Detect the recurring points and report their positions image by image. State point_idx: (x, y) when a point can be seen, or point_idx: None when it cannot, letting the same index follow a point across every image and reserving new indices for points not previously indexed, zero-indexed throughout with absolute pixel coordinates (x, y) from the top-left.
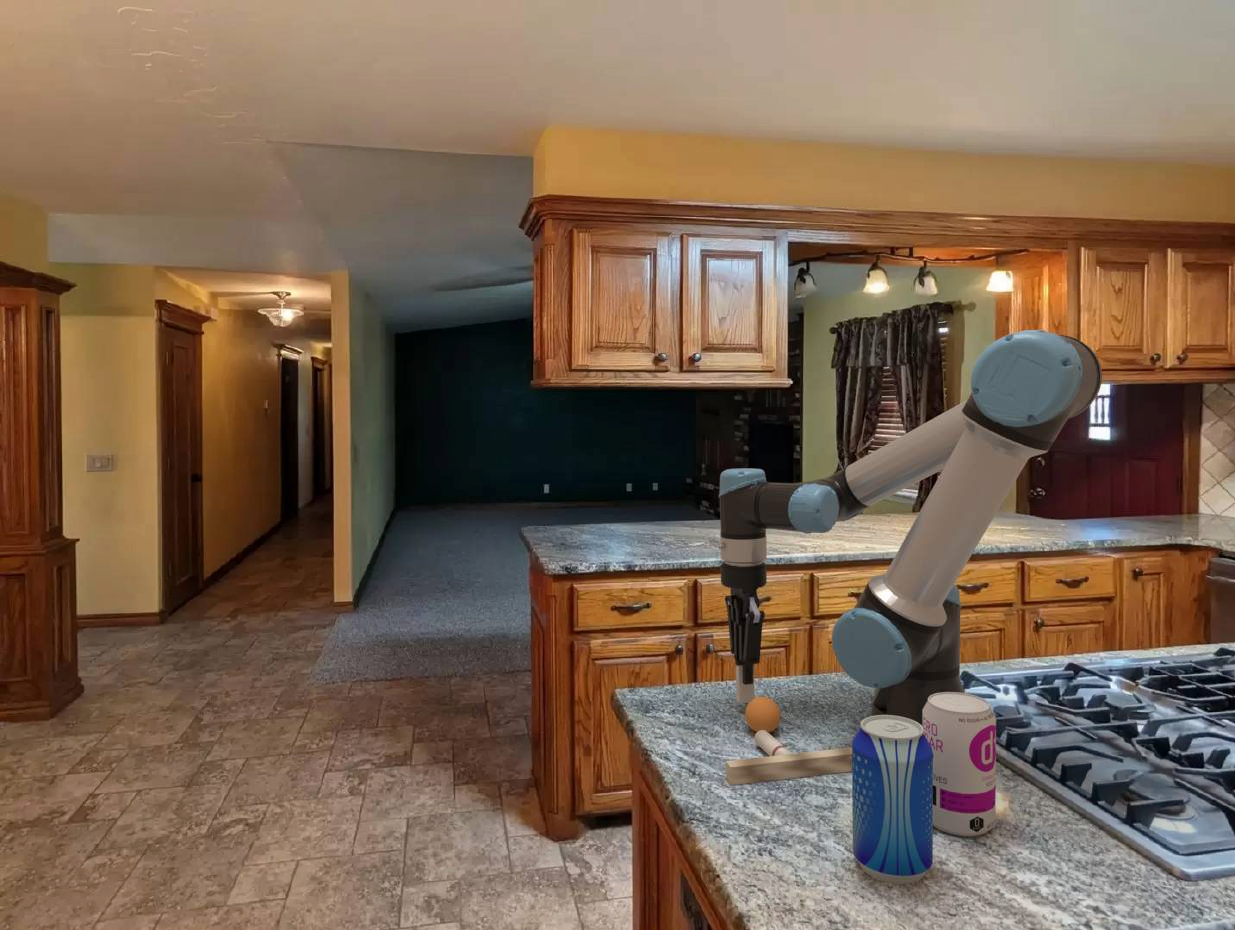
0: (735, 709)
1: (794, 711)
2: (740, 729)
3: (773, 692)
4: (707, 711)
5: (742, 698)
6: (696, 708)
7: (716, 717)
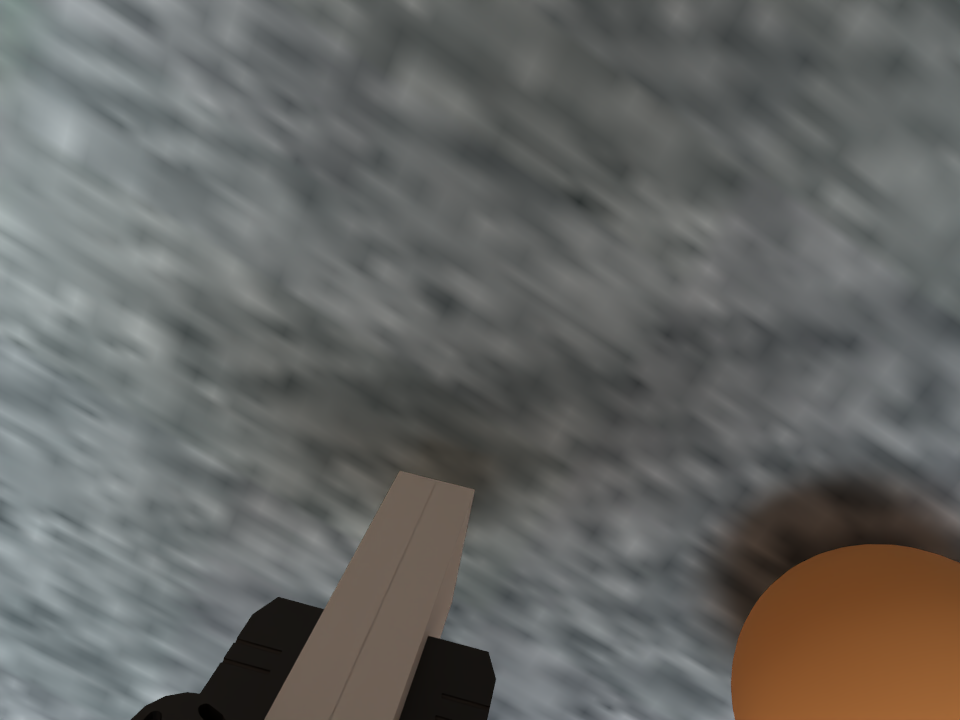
0: None
1: (620, 138)
2: (720, 687)
3: (123, 34)
4: None
5: (448, 601)
6: None
7: None
